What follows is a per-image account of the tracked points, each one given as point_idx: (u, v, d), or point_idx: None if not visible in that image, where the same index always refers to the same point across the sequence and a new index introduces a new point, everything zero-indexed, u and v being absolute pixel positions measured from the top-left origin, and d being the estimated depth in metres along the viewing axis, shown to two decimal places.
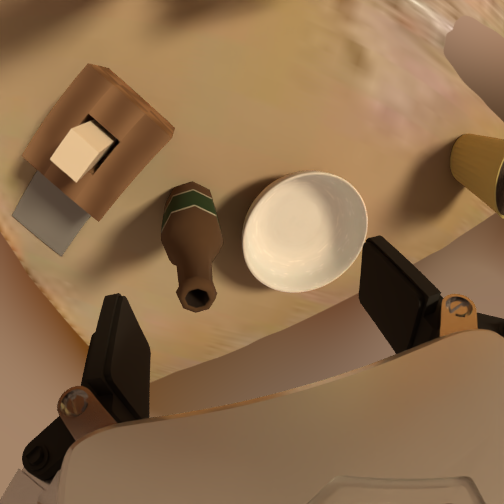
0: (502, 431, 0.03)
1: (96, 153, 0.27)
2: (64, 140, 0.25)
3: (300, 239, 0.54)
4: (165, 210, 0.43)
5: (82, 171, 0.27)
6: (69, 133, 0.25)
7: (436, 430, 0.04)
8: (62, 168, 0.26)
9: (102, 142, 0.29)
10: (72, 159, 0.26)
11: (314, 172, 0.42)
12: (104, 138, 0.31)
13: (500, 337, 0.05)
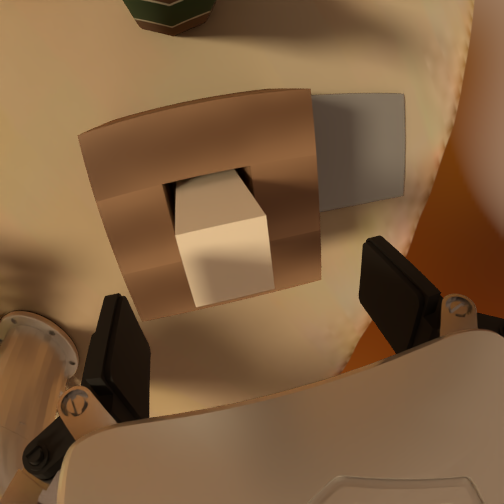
0: (502, 431, 0.03)
1: (181, 237, 0.13)
2: (223, 298, 0.15)
3: None
4: (202, 14, 0.17)
5: (235, 225, 0.14)
6: (205, 302, 0.15)
7: (436, 430, 0.04)
8: (267, 259, 0.15)
9: None
10: (235, 259, 0.14)
11: None
12: None
13: (500, 337, 0.05)
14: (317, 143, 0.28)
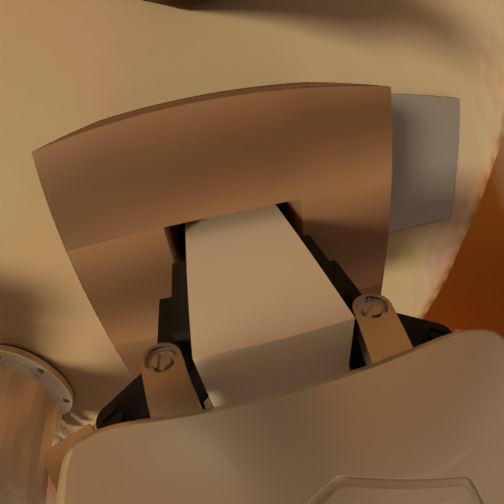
0: (502, 431, 0.03)
1: (203, 361, 0.07)
2: None
3: None
4: None
5: (302, 338, 0.07)
6: None
7: (436, 430, 0.04)
8: (342, 372, 0.08)
9: None
10: (293, 379, 0.08)
11: None
12: None
13: (500, 337, 0.05)
14: None
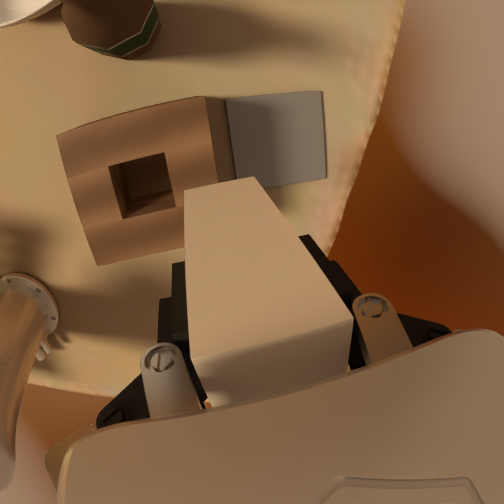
0: (502, 431, 0.03)
1: (201, 361, 0.07)
2: None
3: None
4: (141, 46, 0.25)
5: (301, 338, 0.07)
6: None
7: (436, 430, 0.04)
8: (341, 372, 0.08)
9: None
10: (292, 379, 0.08)
11: None
12: None
13: (500, 337, 0.05)
14: (240, 136, 0.36)
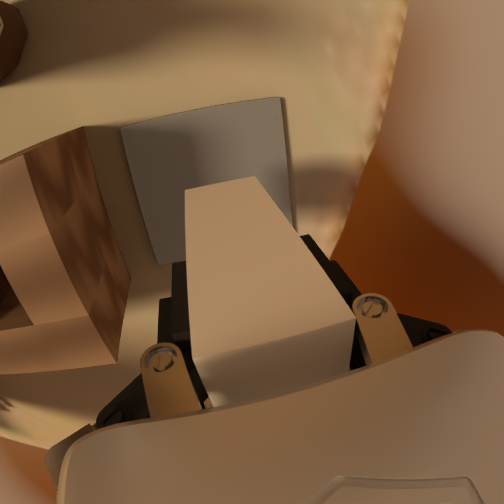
0: (502, 431, 0.03)
1: (203, 361, 0.07)
2: None
3: None
4: None
5: (303, 338, 0.07)
6: None
7: (436, 430, 0.04)
8: (342, 372, 0.08)
9: None
10: (294, 380, 0.08)
11: None
12: None
13: (500, 337, 0.05)
14: (148, 183, 0.23)
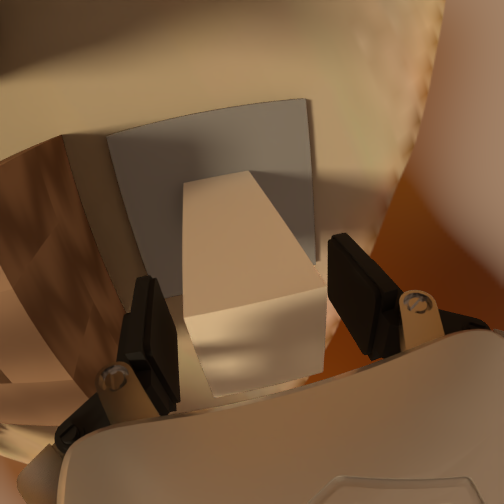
0: (502, 431, 0.03)
1: (193, 320, 0.08)
2: (252, 387, 0.10)
3: None
4: None
5: (280, 302, 0.08)
6: (227, 392, 0.10)
7: (436, 430, 0.04)
8: (319, 340, 0.10)
9: None
10: (274, 344, 0.09)
11: None
12: None
13: (500, 337, 0.05)
14: (143, 204, 0.18)
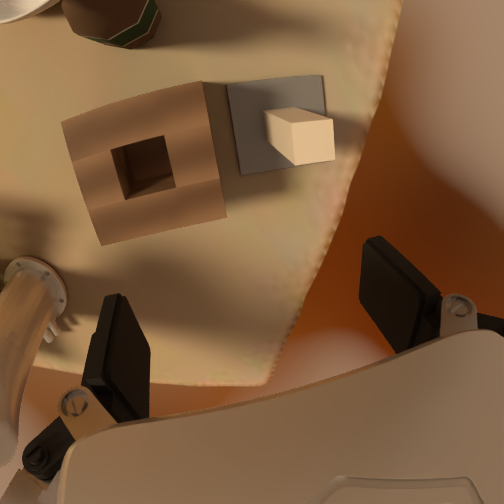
0: (502, 431, 0.03)
1: (293, 124, 0.26)
2: (309, 161, 0.28)
3: None
4: (142, 35, 0.25)
5: (319, 122, 0.26)
6: (300, 163, 0.28)
7: (436, 430, 0.04)
8: (332, 141, 0.27)
9: (281, 125, 0.29)
10: (317, 139, 0.27)
11: None
12: (277, 124, 0.30)
13: (500, 337, 0.05)
14: (242, 119, 0.36)
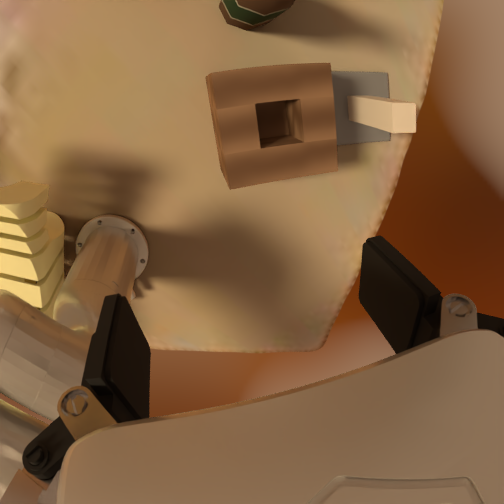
0: (502, 431, 0.03)
1: (393, 103, 0.32)
2: (401, 131, 0.34)
3: None
4: (269, 19, 0.31)
5: (407, 104, 0.33)
6: (395, 131, 0.34)
7: (436, 430, 0.04)
8: (414, 119, 0.34)
9: (377, 105, 0.35)
10: (406, 116, 0.33)
11: None
12: (370, 105, 0.37)
13: (500, 337, 0.05)
14: None
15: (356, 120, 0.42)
